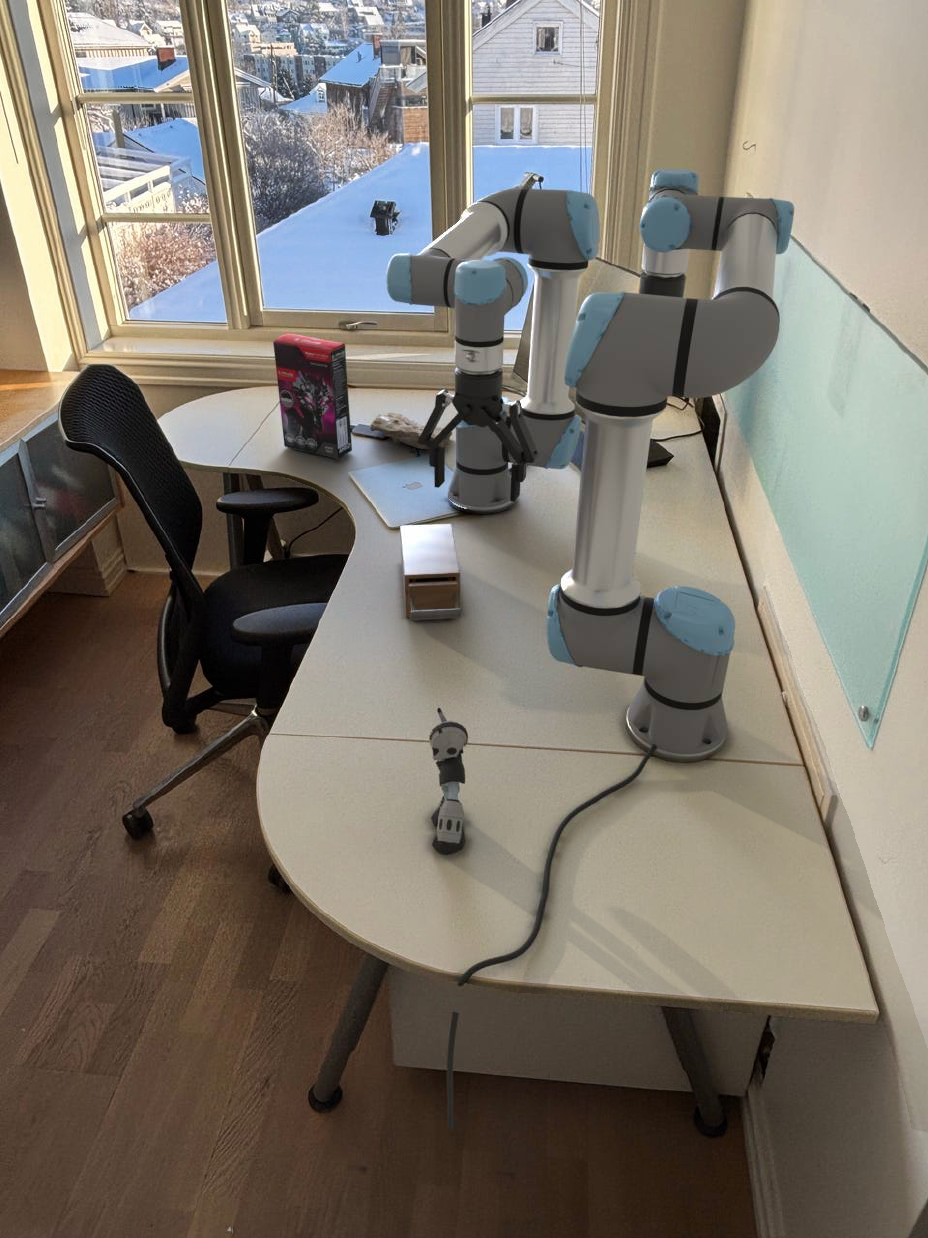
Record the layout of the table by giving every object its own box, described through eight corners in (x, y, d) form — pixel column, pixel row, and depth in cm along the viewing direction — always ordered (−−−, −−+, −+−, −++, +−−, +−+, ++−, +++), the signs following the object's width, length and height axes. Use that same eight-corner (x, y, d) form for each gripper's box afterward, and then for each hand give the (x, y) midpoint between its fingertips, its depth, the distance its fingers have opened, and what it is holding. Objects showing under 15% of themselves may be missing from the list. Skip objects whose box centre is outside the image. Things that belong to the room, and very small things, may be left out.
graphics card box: (282, 447, 232) (270, 339, 217) (298, 438, 237) (288, 331, 222) (338, 461, 225) (330, 350, 210) (354, 451, 230) (347, 342, 215)
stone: (354, 436, 230) (358, 412, 227) (375, 427, 243) (380, 405, 241) (432, 460, 226) (438, 436, 224) (450, 450, 240) (455, 428, 237)
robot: (470, 888, 117) (472, 772, 106) (432, 889, 117) (430, 773, 106) (463, 780, 133) (464, 669, 122) (429, 781, 133) (427, 670, 122)
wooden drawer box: (459, 614, 170) (460, 572, 165) (405, 617, 169) (404, 575, 164) (451, 563, 185) (451, 523, 180) (401, 565, 184) (400, 525, 179)
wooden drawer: (461, 637, 162) (461, 602, 158) (411, 639, 161) (410, 605, 157) (449, 568, 182) (449, 536, 178) (405, 570, 181) (404, 538, 177)
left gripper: (395, 364, 144) (400, 487, 156) (548, 386, 137) (540, 513, 149) (415, 350, 150) (418, 470, 162) (562, 370, 143) (554, 494, 154)
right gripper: (740, 272, 154) (720, 395, 166) (592, 261, 160) (582, 381, 171) (739, 282, 148) (718, 409, 160) (586, 271, 154) (576, 394, 165)
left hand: (476, 491), depth 155 cm, fingers open, 13 cm apart
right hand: (648, 395), depth 166 cm, fingers open, 13 cm apart
